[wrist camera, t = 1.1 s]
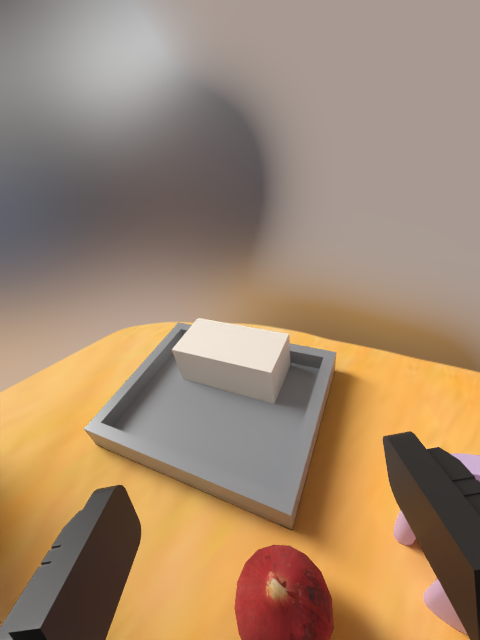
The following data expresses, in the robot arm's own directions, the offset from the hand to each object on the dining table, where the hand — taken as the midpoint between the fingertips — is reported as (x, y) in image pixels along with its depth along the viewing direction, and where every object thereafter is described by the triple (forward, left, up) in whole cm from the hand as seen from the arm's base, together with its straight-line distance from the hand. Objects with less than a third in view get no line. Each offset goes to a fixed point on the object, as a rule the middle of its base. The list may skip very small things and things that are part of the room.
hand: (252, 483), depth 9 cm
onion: (0, 0, -19) cm, 19 cm away
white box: (-12, +18, -18) cm, 28 cm away
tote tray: (-12, +14, -19) cm, 26 cm away
